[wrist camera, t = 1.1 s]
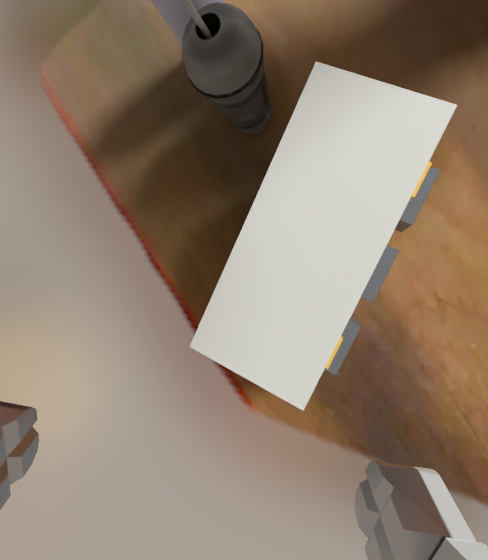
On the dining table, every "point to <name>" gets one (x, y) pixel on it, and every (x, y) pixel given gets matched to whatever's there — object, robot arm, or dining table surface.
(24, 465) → the robot arm
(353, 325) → the key
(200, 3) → the spray bottle
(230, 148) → the dining table surface
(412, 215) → the key
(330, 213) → the key panel
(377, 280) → the key middle
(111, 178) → the dining table surface
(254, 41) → the beverage cup
